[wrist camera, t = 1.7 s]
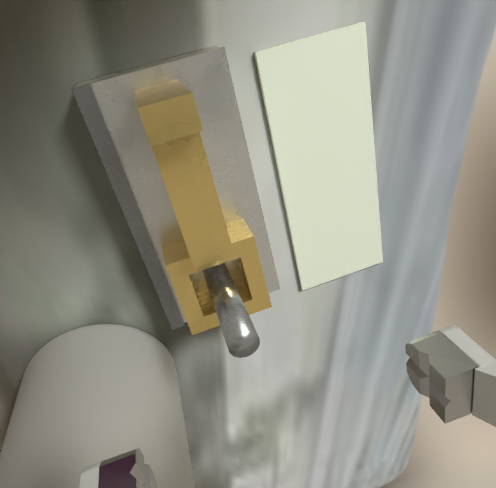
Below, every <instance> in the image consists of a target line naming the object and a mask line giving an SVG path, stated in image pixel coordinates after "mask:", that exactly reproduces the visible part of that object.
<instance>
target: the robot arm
mask: <svg viewBox="0 0 496 488" xmlns="http://www.w3.org/2000/svg"><path fill="white" fill-rule="evenodd" d="M406 353H407V355H408V356H409V357H410V358H409V360H408V361H407V363H406V365H407V372H408V375H409V378H410V380H411V382H412V384H413V385H414V387H415V388H416V389H417V391H418V392H419V393H420V394H422V395H425V396H427V397H429V398H430V406H431V407H432V409H434V411H435V412H436V413H437V414H438V416H439V417H440V418H441V419H442V420H443V422H444V423H448V422H451V421H453V420H456V419H458V418H461V417H463V416H466V415H468V414H471V413H472V415H473V416H475V417H478V418H479V419H481V420H483V421H485V422H487V423H489V424H491V425H493V426H495V427H496V360H495V359H494V358H493V357H492V356H490V355H489V354H488V353H487V352H486V351H485V350H484V349H482V348H481V347H480V346H479V345H478V344H476V343H475V342H474V341H473V340H472V339H470V338H469V337H468V336H467V335H466V334H465V333H463V332H462V331H461V330H460V329H459V328H458V327H456V326H454V325H451V326H449V327H446V328H444V329H441V330H438V331H437V332H436V331H435V332H433V333H430V334H428V335H425V336H423V337H420V338H418V339H415V340H413V341H410V342H408V343H407V344H406ZM79 488H157V484H156V480H155V476H154V474H153V471H152V469H151V467H150V465H148V464H145V463H144V455H143V453H142V452H141V450H140V449H139V448H138V449H134V450H132V451H129V452H126V453H123V454H121V455H118V456H115V457H112V458H109V459H107V460H104V461H101V462H99V463H96V464H93V465H91V466H88V467H85V468H83V469H82V472H81V474H80V481H79Z"/></svg>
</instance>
